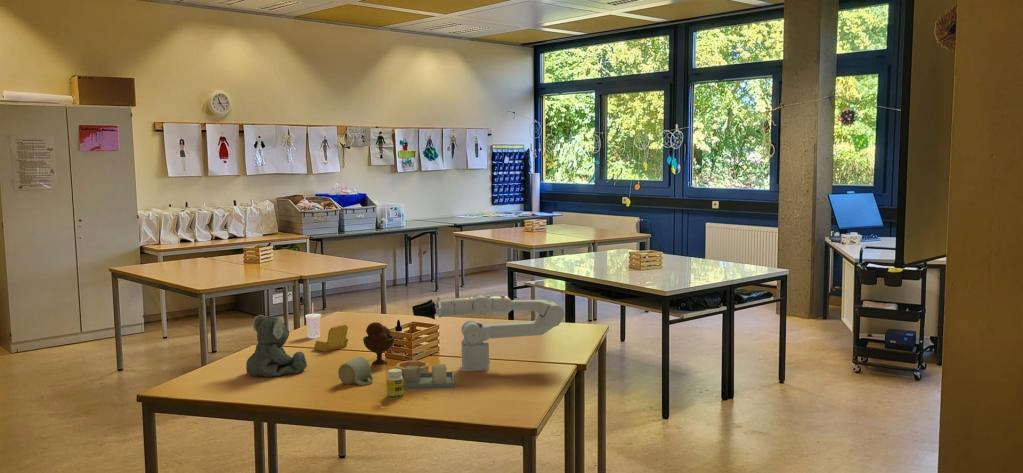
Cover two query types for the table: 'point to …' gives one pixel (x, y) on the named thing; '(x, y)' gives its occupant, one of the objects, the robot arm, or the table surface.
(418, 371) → the beige square block
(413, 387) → the parts tray
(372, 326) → the ice cream bowl
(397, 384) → the supplement bottle
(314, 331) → the beverage cup
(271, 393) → the table surface
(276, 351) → the koala plush
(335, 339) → the yellow bent piece
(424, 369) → the bowl
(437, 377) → the sage green cube
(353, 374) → the ceramic mug
